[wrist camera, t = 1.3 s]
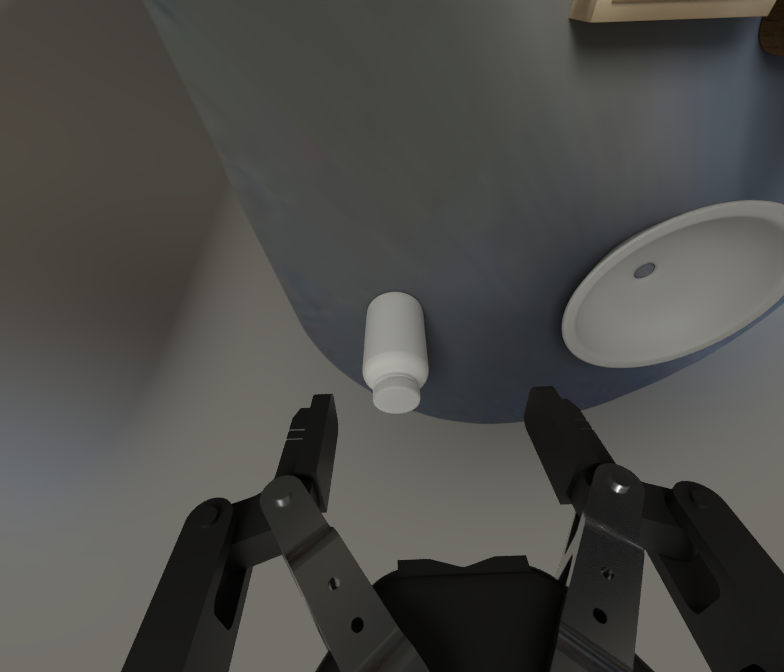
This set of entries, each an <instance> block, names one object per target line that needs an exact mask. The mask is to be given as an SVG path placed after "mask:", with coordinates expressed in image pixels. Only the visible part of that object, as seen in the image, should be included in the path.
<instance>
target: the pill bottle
mask: <svg viewBox="0 0 784 672" xmlns="http://www.w3.org/2000/svg"><path fill="white" fill-rule="evenodd" d="M428 373H429V368H428V357H427V347H426V337H425V326H424V316H423V310H422V307H421V305H420V303H419V302H418V301H417V300H416V299H415V298H414V297H412V296H411V295H409V294H406V293H402V292H388V293H384V294H382V295H380V296H378V297H376V298H375V299H374V300H373V301H372V302H371V304H370V305H369V307H368V311H367V318H366V332H365V345H364V358H363V376H364V379H365V382H366V383H367V385H368V386H369V387H370V388H371V389H372V390H373V402H374V404H375V406H376V407H377V408H378V409H380V410H381V411H384V412H387V413H393V414H394V413H395V414H399V413H405V412H409V411H411V410H413V409H415V408H416V407H417V406H418V404H419V402H420V388H421V387H422V386H423V385H424V384H425V382H426V380H427V377H428Z"/></svg>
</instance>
